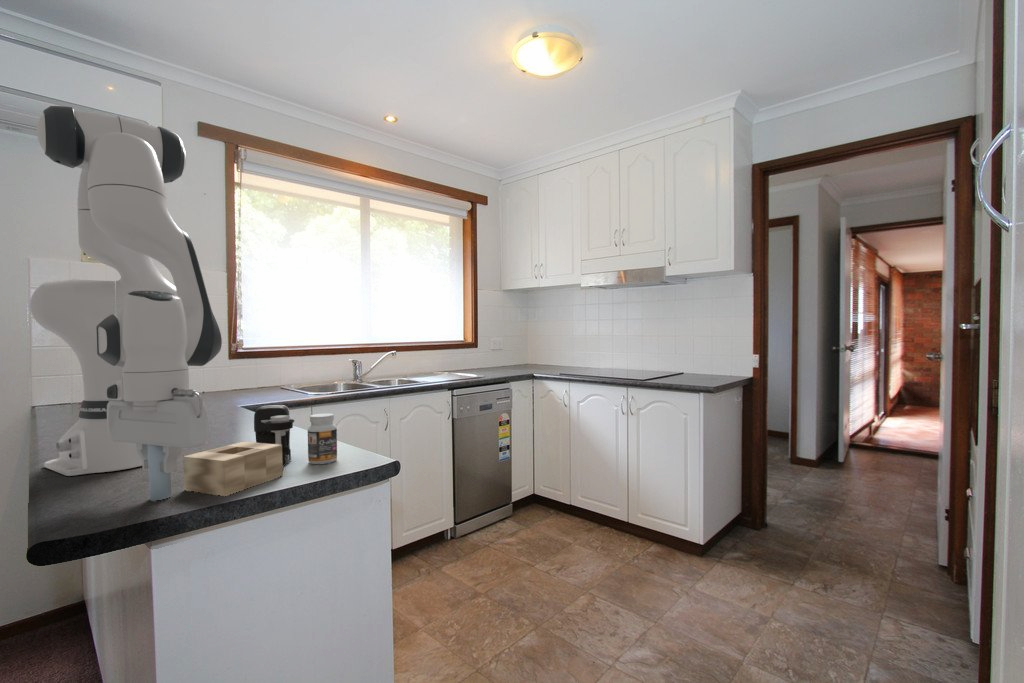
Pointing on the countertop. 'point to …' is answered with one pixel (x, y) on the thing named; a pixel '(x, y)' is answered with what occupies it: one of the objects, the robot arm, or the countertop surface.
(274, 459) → the socket block
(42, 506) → the countertop surface
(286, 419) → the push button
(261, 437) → the coffee maker
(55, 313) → the robot arm
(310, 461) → the pill bottle
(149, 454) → the peg
